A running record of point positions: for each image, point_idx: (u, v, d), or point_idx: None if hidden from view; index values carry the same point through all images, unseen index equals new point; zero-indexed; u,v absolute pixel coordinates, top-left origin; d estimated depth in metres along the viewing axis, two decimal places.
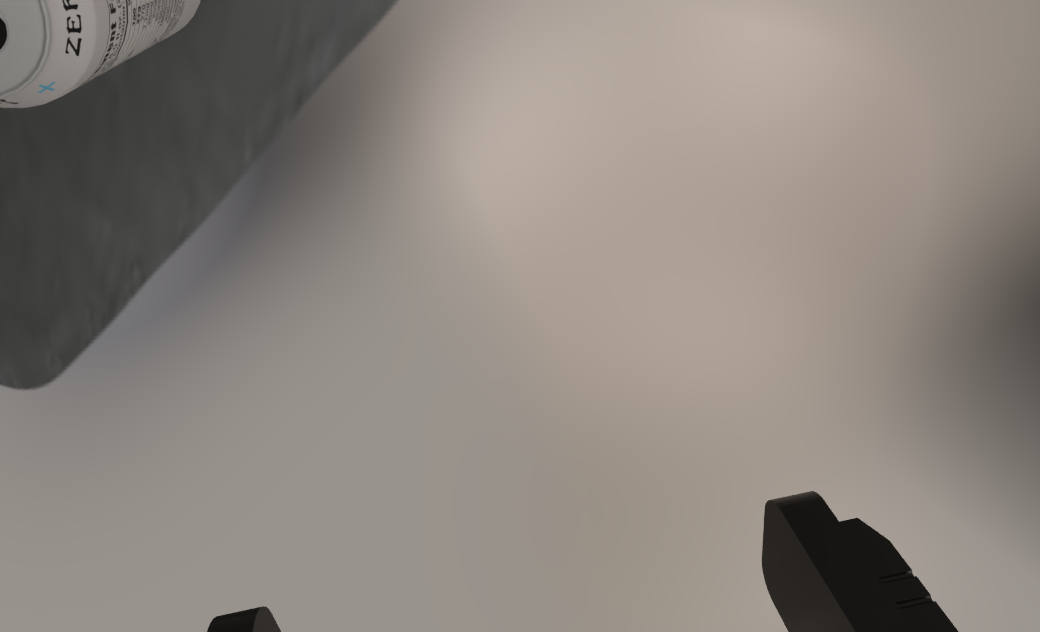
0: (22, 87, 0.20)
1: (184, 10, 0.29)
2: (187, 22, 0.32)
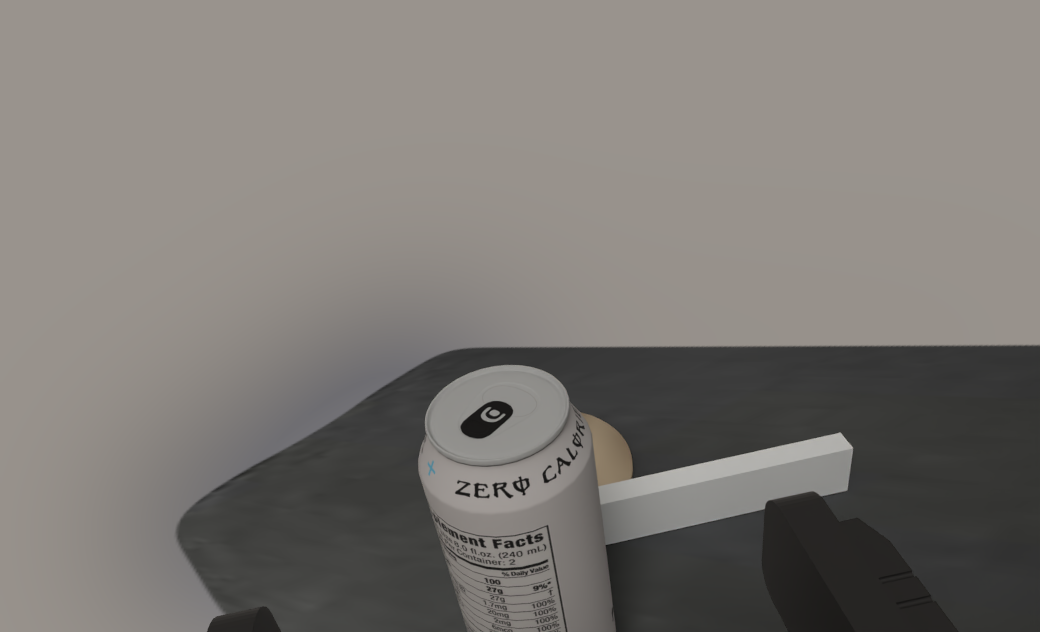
0: (431, 440, 0.22)
1: None
2: None
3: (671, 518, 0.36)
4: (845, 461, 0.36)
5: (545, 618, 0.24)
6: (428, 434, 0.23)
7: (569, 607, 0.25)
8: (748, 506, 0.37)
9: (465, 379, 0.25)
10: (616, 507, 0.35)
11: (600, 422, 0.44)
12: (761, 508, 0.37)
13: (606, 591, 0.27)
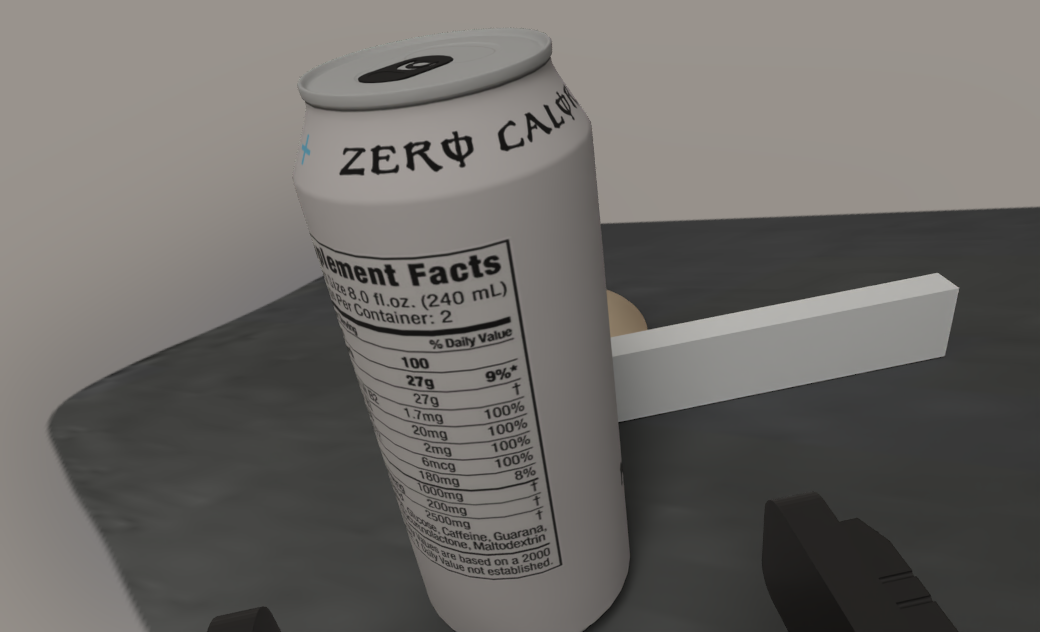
0: (302, 89, 0.12)
1: (451, 576, 0.17)
2: (442, 615, 0.19)
3: (702, 386, 0.26)
4: (946, 309, 0.26)
5: (508, 440, 0.14)
6: (299, 85, 0.13)
7: (549, 425, 0.15)
8: (809, 373, 0.26)
9: (382, 49, 0.15)
10: (627, 364, 0.25)
11: None
12: (826, 378, 0.27)
13: (612, 423, 0.17)
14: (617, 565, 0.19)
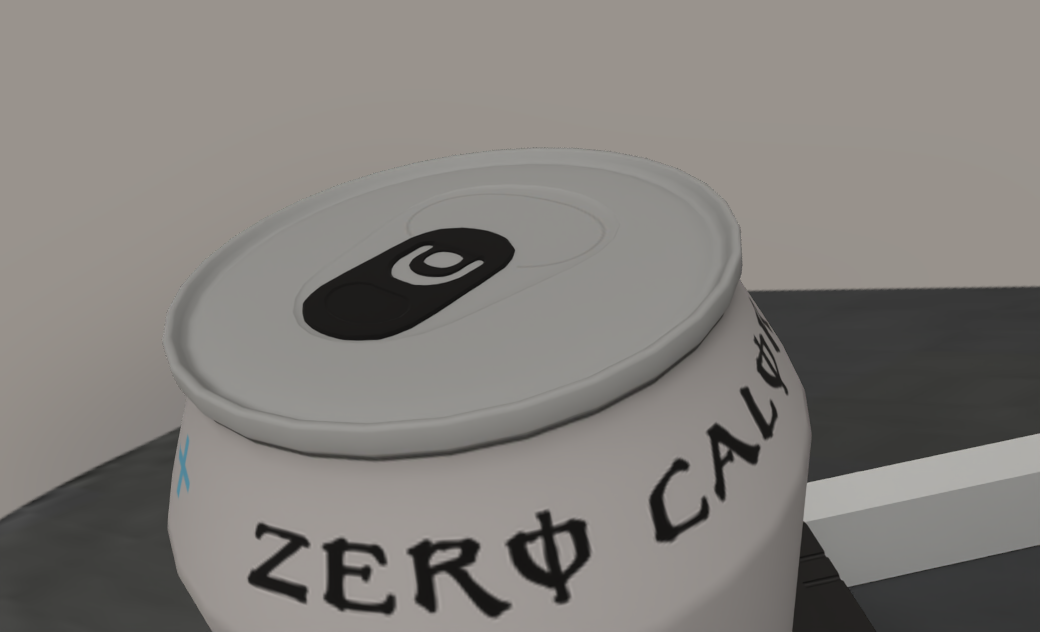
0: (166, 349, 0.05)
1: None
2: None
3: None
4: None
5: None
6: (166, 328, 0.06)
7: None
8: (959, 551, 0.19)
9: (363, 186, 0.08)
10: None
11: None
12: (982, 555, 0.19)
13: None
14: None
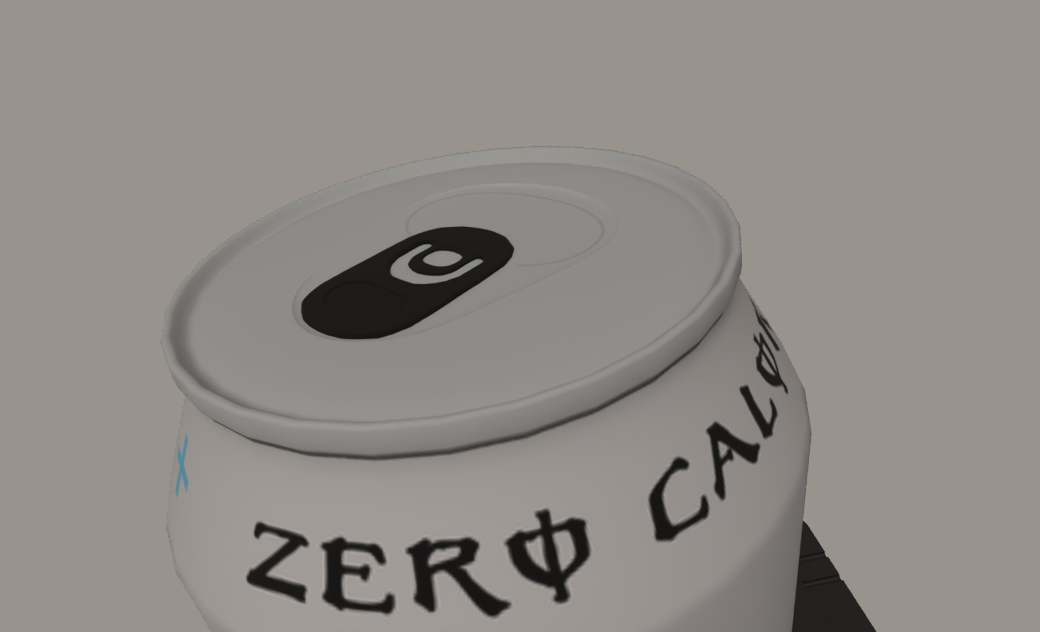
0: (165, 349, 0.05)
1: None
2: None
3: None
4: None
5: None
6: (165, 327, 0.06)
7: None
8: None
9: (363, 186, 0.08)
10: None
11: None
12: None
13: None
14: None
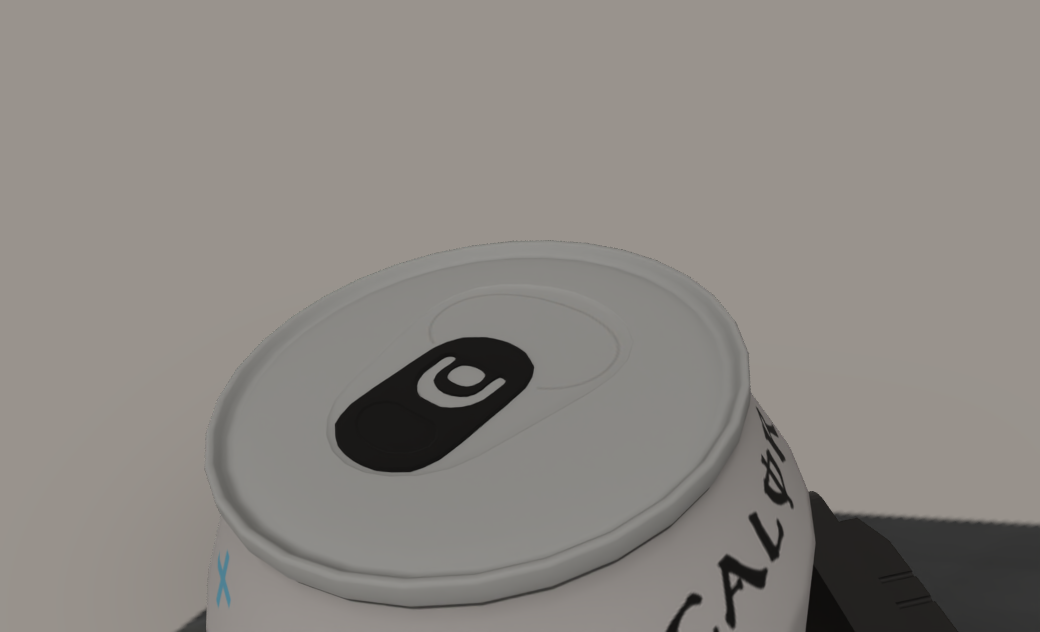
0: (210, 478, 0.06)
1: None
2: None
3: None
4: None
5: None
6: (208, 452, 0.06)
7: None
8: None
9: (385, 279, 0.08)
10: None
11: None
12: None
13: None
14: None
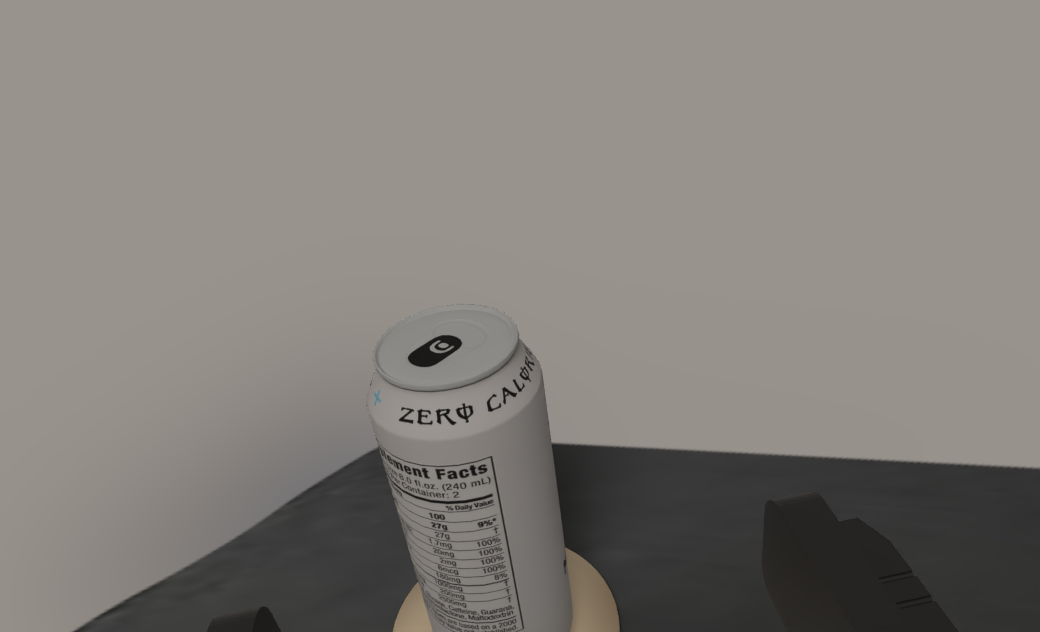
0: (377, 368, 0.22)
1: None
2: None
3: None
4: None
5: (491, 558, 0.24)
6: (375, 363, 0.23)
7: (515, 548, 0.24)
8: None
9: (418, 316, 0.25)
10: None
11: (579, 560, 0.34)
12: None
13: (557, 539, 0.26)
14: (562, 626, 0.28)
